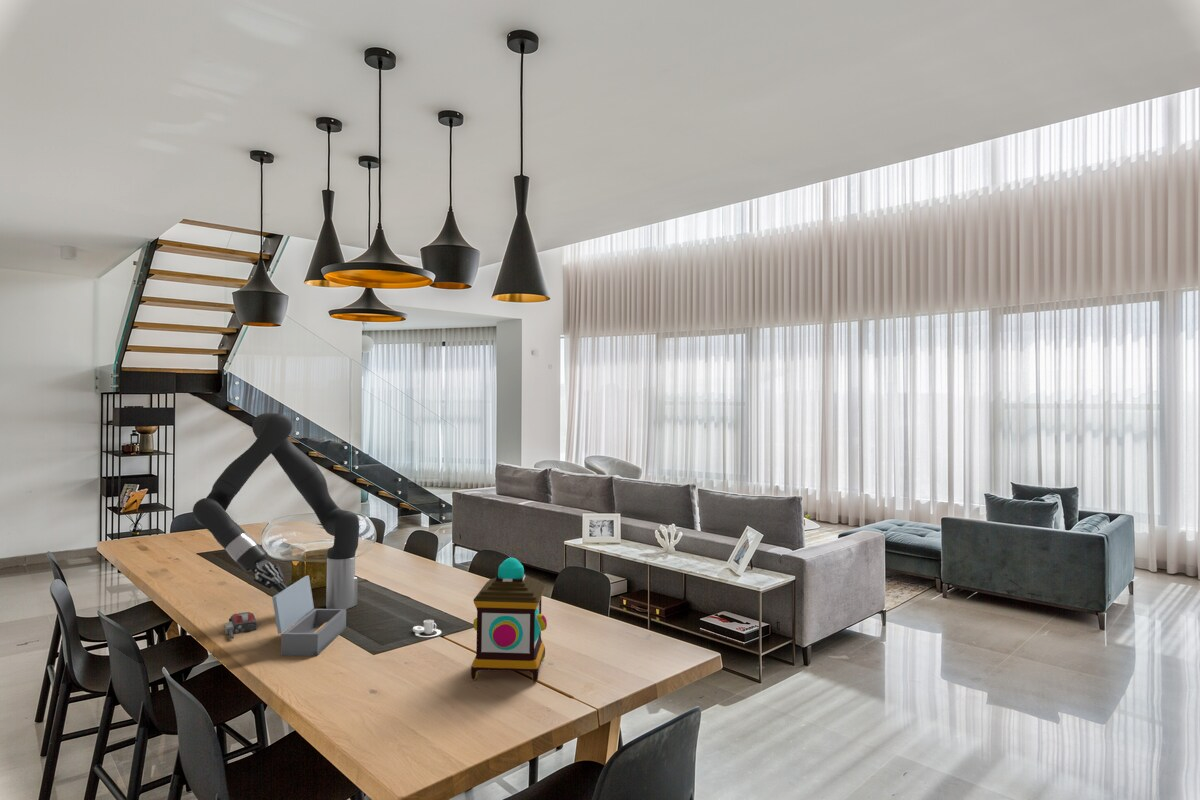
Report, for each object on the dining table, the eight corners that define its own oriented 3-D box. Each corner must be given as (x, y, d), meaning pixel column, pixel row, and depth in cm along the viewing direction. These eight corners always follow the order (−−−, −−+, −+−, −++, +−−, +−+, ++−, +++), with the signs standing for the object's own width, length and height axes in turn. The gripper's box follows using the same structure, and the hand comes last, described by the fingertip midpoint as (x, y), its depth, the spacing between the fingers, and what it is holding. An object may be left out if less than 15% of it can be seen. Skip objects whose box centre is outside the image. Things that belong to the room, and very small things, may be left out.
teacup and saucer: (408, 633, 216) (408, 620, 216) (430, 627, 222) (430, 615, 222) (424, 640, 210) (424, 626, 210) (446, 634, 216) (446, 621, 216)
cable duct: (281, 655, 195) (281, 634, 195) (313, 627, 219) (314, 608, 219) (317, 655, 195) (317, 634, 195) (345, 628, 219) (346, 609, 219)
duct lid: (281, 633, 195) (278, 633, 195) (314, 608, 219) (310, 608, 219) (275, 596, 195) (272, 597, 195) (308, 575, 219) (305, 575, 219)
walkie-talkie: (222, 624, 222) (227, 643, 205) (222, 610, 222) (228, 627, 205) (252, 620, 227) (260, 638, 210) (253, 606, 227) (261, 623, 210)
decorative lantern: (480, 654, 198) (482, 549, 198) (549, 656, 197) (551, 550, 198) (464, 683, 178) (466, 565, 178) (541, 685, 177) (543, 567, 178)
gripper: (245, 547, 200) (287, 590, 200) (265, 538, 213) (305, 579, 213) (225, 566, 200) (268, 609, 200) (247, 556, 213) (287, 596, 213)
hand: (287, 593), depth 207 cm, fingers closed
